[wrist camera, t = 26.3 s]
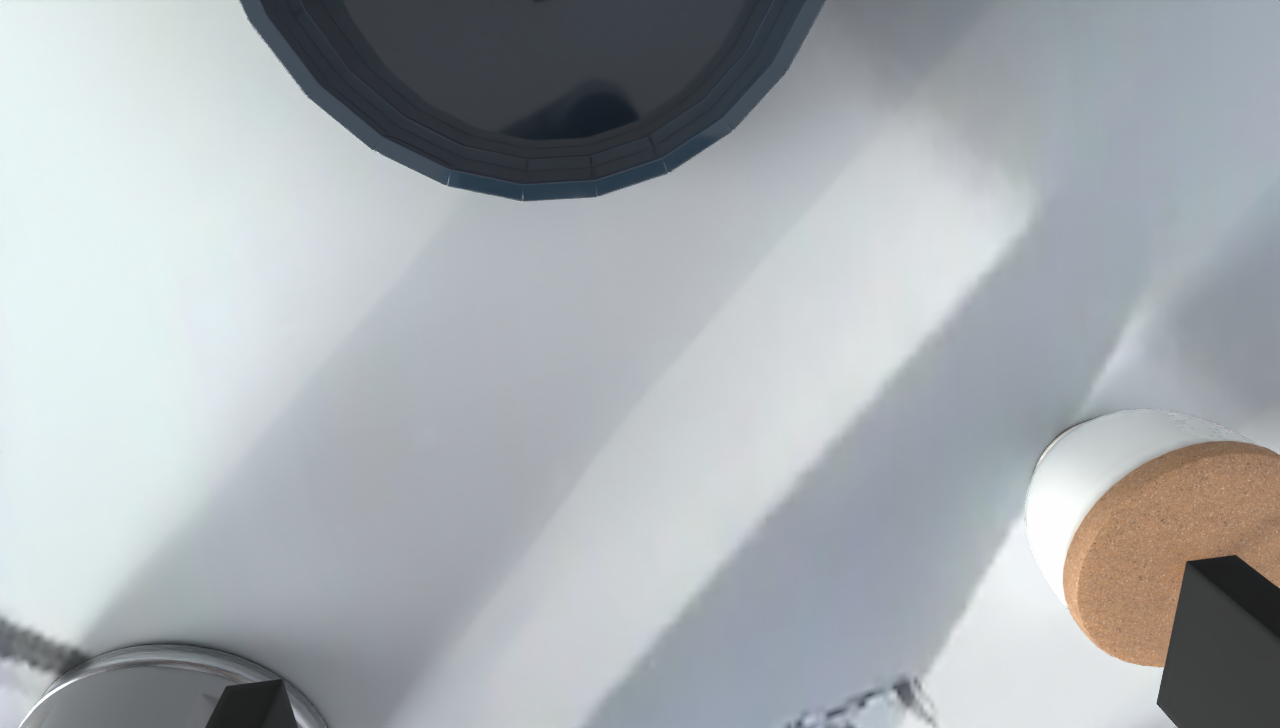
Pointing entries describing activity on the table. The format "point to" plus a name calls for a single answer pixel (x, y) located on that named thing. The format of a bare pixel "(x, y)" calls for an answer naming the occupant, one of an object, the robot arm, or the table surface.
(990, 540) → the table surface
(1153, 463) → the trinket box
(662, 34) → the bowl
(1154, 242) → the table surface
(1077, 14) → the table surface
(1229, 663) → the robot arm
